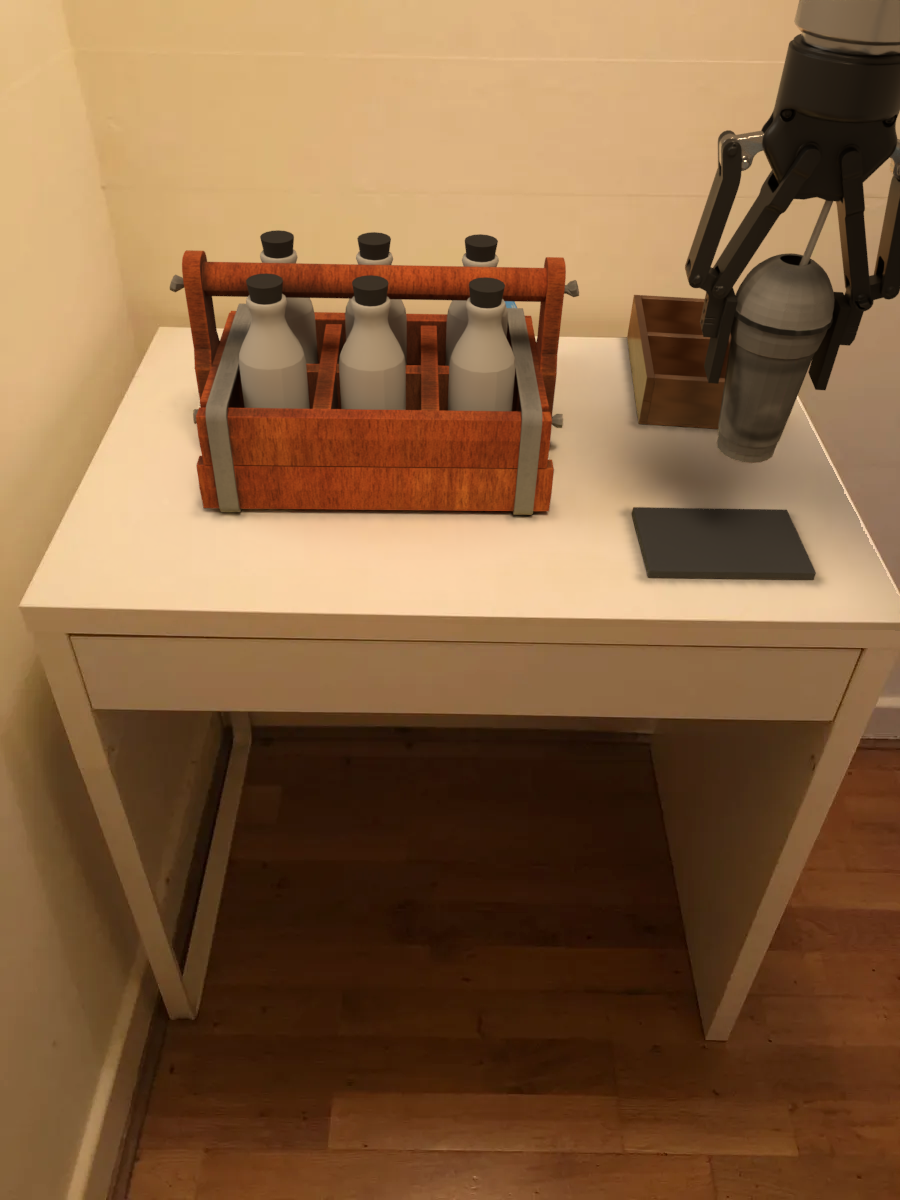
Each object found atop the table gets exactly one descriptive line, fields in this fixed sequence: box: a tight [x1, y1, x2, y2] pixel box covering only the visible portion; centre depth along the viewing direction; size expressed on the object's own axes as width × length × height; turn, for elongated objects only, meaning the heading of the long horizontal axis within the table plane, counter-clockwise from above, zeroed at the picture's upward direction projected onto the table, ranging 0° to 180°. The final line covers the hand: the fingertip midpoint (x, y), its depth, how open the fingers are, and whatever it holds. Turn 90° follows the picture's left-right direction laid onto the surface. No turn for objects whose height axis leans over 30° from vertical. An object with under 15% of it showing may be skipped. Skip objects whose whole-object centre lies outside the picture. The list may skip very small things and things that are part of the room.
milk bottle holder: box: [169, 229, 580, 516], centre depth 88 cm, size 21×35×19 cm, turn 91°
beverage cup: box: [716, 200, 835, 464], centre depth 72 cm, size 7×7×20 cm
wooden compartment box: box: [626, 294, 731, 430], centre depth 106 cm, size 10×19×5 cm, turn 176°
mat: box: [631, 506, 817, 581], centre depth 85 cm, size 14×9×1 cm, turn 91°
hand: (763, 377), depth 75 cm, fingers closed on beverage cup, 7 cm apart
